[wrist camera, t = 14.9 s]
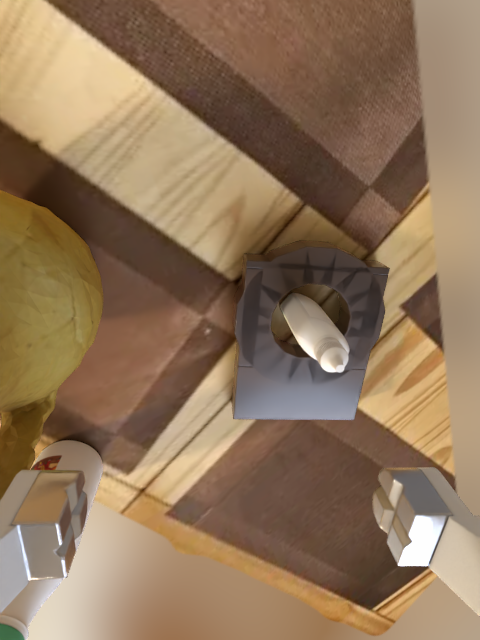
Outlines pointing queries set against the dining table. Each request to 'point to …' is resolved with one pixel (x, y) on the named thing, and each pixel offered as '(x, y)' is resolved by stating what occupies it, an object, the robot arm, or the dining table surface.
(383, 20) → the dining table surface
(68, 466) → the milk bottle
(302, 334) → the eye dropper bottle
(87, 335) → the pitcher
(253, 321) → the grey ring plate
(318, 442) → the dining table surface
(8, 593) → the robot arm
